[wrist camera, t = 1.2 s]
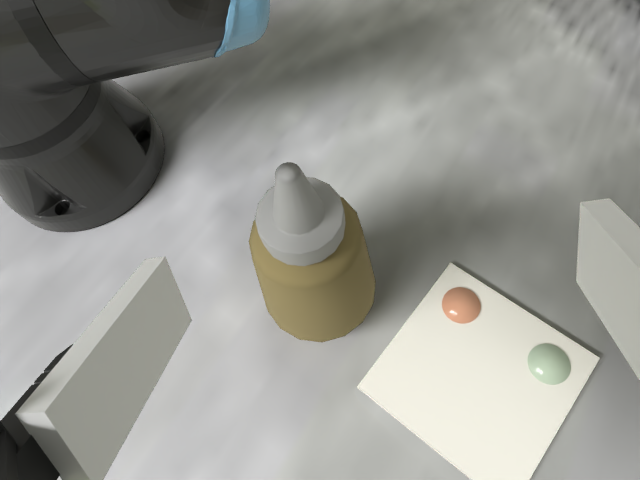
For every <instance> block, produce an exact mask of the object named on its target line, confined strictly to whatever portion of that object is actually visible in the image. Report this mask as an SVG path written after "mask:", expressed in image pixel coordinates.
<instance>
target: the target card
mask: <svg viewBox="0 0 640 480" xmlns="http://www.w3.org/2000/svg"><path fill="white" fill-rule="evenodd" d="M599 359H600V358H599V357H598V356H596V355H594V354H593V353H591V352H590V351H588V350H587V349H585V348H584V347H582V346H580V345H579V344H577V343H576V342H574V341H573V340H571V339H569V338H568V337H566V336H565V335H563V334H562V333H560V332H558V331H557V330H555V329H554V328H552V327H551V326H549V325H548V324H546V323H544V322H543V321H541V320H540V319H538V318H537V317H535V316H533V315H532V314H530V313H529V312H527V311H526V310H524V309H522V308H521V307H519V306H518V305H516V304H515V303H513V302H512V301H510V300H508V299H507V298H505V297H504V296H502V295H501V294H499V293H497V292H496V291H494V290H493V289H491V288H490V287H488V286H486V285H485V284H483V283H482V282H480V281H479V280H477V279H476V278H474V277H472V276H471V275H469V274H468V273H466V272H465V271H463V270H461V269H460V268H458V267H457V266H455V265H454V264H452V263H450V264H449V265H448V266H447V268H446V269H445V270H444V272H443V273H442V274H441V276H440V277H439V278H438V280H437V281H436V282H435V284H434V285H433V286H432V288H431V289H430V290H429V292H428V293H427V294H426V296H425V297H424V298H423V300H422V301H421V302H420V304H419V305H418V306H417V308H416V309H415V310H414V312H413V313H412V314H411V316H410V317H409V318H408V320H407V321H406V322H405V324H404V325H403V326H402V328H401V329H400V330H399V332H398V333H397V334H396V336H395V337H394V338H393V340H392V341H391V342H390V344H389V345H388V346H387V348H386V349H385V350H384V352H383V353H382V354H381V356H380V357H379V358H378V360H377V361H376V362H375V364H374V365H373V366H372V368H371V369H370V370H369V372H368V373H367V374H366V376H365V377H364V378H363V380H362V381H361V382H360V384H359V385H358V386H357V388H358V389H359V390H361V391H362V392H363V393H364V394H366V395H367V396H368V397H369V398H370V399H372V400H373V401H374V402H375V403H377V404H378V405H379V406H380V407H382V408H383V409H384V410H385V411H387V412H388V413H389V414H390V415H391V416H393V417H394V418H395V419H396V420H398V421H399V422H400V423H401V424H403V425H404V426H405V427H406V428H408V429H409V430H410V431H411V432H412V433H414V434H415V435H416V436H417V437H419V438H420V439H421V440H422V441H424V442H425V443H426V444H427V445H429V446H430V447H431V448H432V449H433V450H435V451H436V452H437V453H438V454H440V455H441V456H442V457H443V458H445V459H446V460H447V461H448V462H449V463H451V464H452V465H453V466H454V467H456V468H457V469H458V470H459V471H461V472H462V473H463V474H464V475H466V476H467V477H468V478H469V479H470V480H529V479H530V478H531V476H532V474H533V472H534V471H535V469H536V467H537V466H538V464H539V462H540V460H541V459H542V457H543V455H544V454H545V452H546V450H547V448H548V447H549V445H550V443H551V442H552V440H553V438H554V436H555V435H556V433H557V431H558V429H559V428H560V426H561V424H562V423H563V421H564V419H565V417H566V416H567V414H568V412H569V411H570V409H571V407H572V405H573V404H574V402H575V400H576V398H577V397H578V395H579V393H580V392H581V390H582V388H583V386H584V385H585V383H586V381H587V380H588V378H589V376H590V374H591V373H592V371H593V369H594V368H595V366H596V364H597V362H598V361H599Z"/></svg>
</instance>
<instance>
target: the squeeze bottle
mask: <svg viewBox="0 0 640 480" xmlns="http://www.w3.org/2000/svg"><path fill="white" fill-rule="evenodd" d="M249 244H250V249H251V254H252V259H253V263H254V266H255V270H256V273H257V276H258V280H259V283H260V286H261V290H262V293H263V296H264V300H265V303H266V306H267V310H268V312H269V313H270V315H271V316H272V317H273V319H274V320H275V322H276V323H277V324H278V326H279V327H280V328H281V329H282V330H284V331H286V332H288V333H289V334H291V335H293V336H294V337H296V338H298V339H300V340H308V341H316V342H325V341H328V340H332V339H336V338H339V337H343V336H345V335H347V334H348V333H349V332H350V331H352V330H353V329H354V328H356V327H357V326H358V325H360V324H361V323H362V322H363V321H364V319H365V317H366V315H367V313H368V312H369V310H370V308H371V306H372V305H373V303H374V293H375V283H376V281H375V277H374V273H373V270H372V266H371V262H370V258H369V254H368V250H367V246H366V242H365V238H364V234H363V230H362V227H361V224H360V221H359V218H358V215H357V212H356V211H355V210H354V209H353V208H352V207H351V206H350V205H349V204H348V203H347V202H346V201H345V200H344V198H342V197H340V196H339V195H338V193H337V192H336V191H335V190H334V189H333V188H332V187H331V186H330V185H329V184H327V183H325V182H323V181H320V180H318V179H316V178H309V177H306V176H305V175H304V173H303V172H302V170H301V169H300V168H299V166H298V165H297V164H294V163H289V162H287V163H284V164H282V165H280V166H279V167H278V168H277V169H276V172H275V184H274V187H272V188H271V189H269V190H268V191H267V192H266V194H265V195H264V196H263V198H262V199H261V200H260V202H259V203H258V207H257V212H256V216H255V220H254V222H253V226H252V230H251V234H250V239H249Z"/></svg>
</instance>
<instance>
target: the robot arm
mask: <svg viewBox="0 0 640 480" xmlns="http://www.w3.org/2000/svg"><path fill="white" fill-rule="evenodd" d="M269 13H270V0H0V195H1V197H2V198H3V200H4V201H5V202H6V203H7V204H8V206H9V207H10V208H12V209H13V210H14V211H15V212H16V213H18V214H19V215H21V216H22V217H23V218H25V219H26V220H27V221H29V222H30V223H32V224H34V225H35V226H37V227H40V228H43V229H46V230H50V231H56V232H75V231H82V230H87V229H90V228H94V227H97V226H100V225H102V224H105V223H107V222H109V221H111V220H113V219H115V218H117V217H118V216H120V215H122V214H123V213H124V212H126V211H127V210H129V209H130V208H131V207H132V206H134V205H135V204H136V203H137V202H138V201H139V200H140V199H141V198H142V197H143V196H144V195H145V194H146V192H147V191H148V190H149V189H150V187H151V186H152V184H153V183H154V181H155V179H156V177H157V175H158V173H159V171H160V168H161V165H162V162H163V157H164V140H163V135H162V132H161V130H160V128H159V126H158V124H157V123H156V121H155V120H154V118H153V116H152V115H151V113H150V111H149V110H148V109H147V108H146V106H145V105H144V104H143V103H142V102H141V101H140V100H139V99H137V98H136V97H135V96H133V95H132V94H131V93H129V92H128V91H127V90H125V89H124V88H123V87H121V86H120V85H119V84H117V83H116V82H115V81H113V80H112V79H115V78H119V77H124V76H128V75H133V74H138V73H142V72H147V71H151V70H156V69H160V68H165V67H169V66H174V65H178V64H183V63H188V62H192V61H197V60H201V59H206V58H210V57H219V56H221V55H222V54H223V53H224V52H227V51H230V50H234V49H237V48H240V47H243V46H246V45H249V44H252V43H254V42H256V41H257V40H259V39H260V38H261V37H262V36H263V34H264V32H265V30H266V28H267V25H268V22H269ZM576 282H577V284H578V285H579V287H580V288H581V290H582V291H583V293H584V295H585V296H586V298H587V299H588V301H589V302H590V304H591V305H592V307H593V309H594V310H595V312H596V313H597V315H598V316H599V318H600V320H601V321H602V323H603V324H604V326H605V327H606V329H607V331H608V332H609V334H610V335H611V337H612V338H613V340H614V341H615V343H616V345H617V346H618V348H619V349H620V351H621V352H622V354H623V356H624V357H625V359H626V360H627V362H628V363H629V365H630V367H631V368H632V370H633V371H634V373H635V374H636V376H637V377H638V379H639V381H640V227H639V226H638V225H637V224H636V223H635V222H634V221H633V220H632V219H630V218H629V217H628V216H627V215H626V214H625V213H624V212H623V211H622V210H621V209H620V208H619V207H618V206H617V205H616V204H615V203H614V202H613V201H612V200H611V199H610V198H607V199H600V200H592V201H584V202H580V218H579V237H578V256H577V275H576ZM191 321H192V319H191V317H190V314H189V312H188V310H187V307H186V305H185V303H184V300H183V298H182V295H181V293H180V291H179V288H178V286H177V283H176V281H175V279H174V276H173V274H172V271H171V269H170V267H169V264H168V262H167V260H166V257H158V258H150V259H145V260H144V261H143V262H142V263H141V265H140V266H139V267H138V268H137V269H136V271H135V272H134V273H133V274H132V275H131V277H130V278H129V279H128V280H127V281H126V283H125V284H124V285H123V286H122V287H121V288H120V290H119V291H118V292H117V293H116V294H115V296H114V297H113V298H112V299H111V300H110V302H109V303H108V304H107V305H106V306H105V307H104V309H103V310H102V311H101V312H100V313H99V315H98V316H97V317H96V318H95V319H94V321H93V322H92V323H91V324H90V325H89V327H88V328H87V329H86V330H85V331H84V332H83V334H82V335H81V336H80V337H79V338H78V340H77V341H76V342H75V343H74V344H72V345H71V346H69V347H68V348H67V349H65V350H64V351H63V352H62V353H60V354H59V355H58V356H56V357H55V359H54V360H53V361H52V362H51V363H50V364H49V366H48V367H47V368H46V369H45V370H44V373H42V374H41V375H40V376H39V377H38V378H37V379H36V381H35V382H34V383H35V384H34V385H31V386H30V388H29V389H28V390H27V391H26V392H25V393H24V395H23V396H22V397H21V398H20V399H19V400H18V402H17V403H16V404H15V405H14V406H13V407H12V409H11V410H10V411H9V412H8V413H7V414H6V416H5V417H4V418H3V419H2V420H1V421H0V480H57V478H58V477H59V476H60V477H61V479H62V480H103V479H104V477H105V475H106V474H107V472H108V470H109V468H110V466H111V465H112V463H113V461H114V459H115V457H116V456H117V454H118V452H119V450H120V448H121V447H122V445H123V443H124V441H125V439H126V438H127V436H128V434H129V432H130V430H131V429H132V427H133V425H134V423H135V421H136V420H137V418H138V416H139V414H140V412H141V411H142V409H143V407H144V405H145V403H146V402H147V400H148V398H149V396H150V394H151V393H152V391H153V389H154V387H155V385H156V384H157V382H158V380H159V378H160V376H161V375H162V373H163V371H164V369H165V367H166V366H167V364H168V362H169V360H170V358H171V357H172V355H173V353H174V351H175V349H176V348H177V346H178V344H179V342H180V340H181V339H182V337H183V335H184V333H185V331H186V330H187V328H188V326H189V324H190V322H191Z"/></svg>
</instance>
